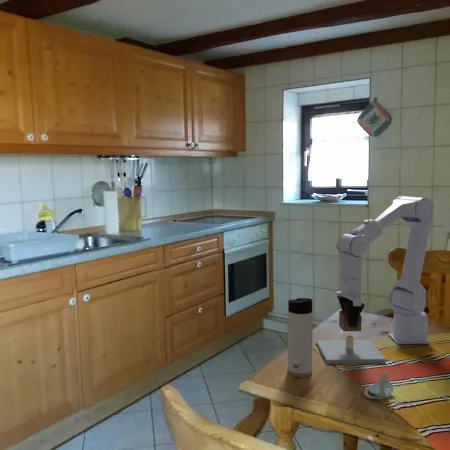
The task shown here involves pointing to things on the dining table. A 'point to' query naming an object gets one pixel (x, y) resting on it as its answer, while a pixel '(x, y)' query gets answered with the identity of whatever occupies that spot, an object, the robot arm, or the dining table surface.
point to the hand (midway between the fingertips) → (349, 323)
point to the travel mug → (300, 337)
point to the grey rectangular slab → (349, 351)
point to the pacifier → (380, 388)
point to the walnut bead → (344, 323)
